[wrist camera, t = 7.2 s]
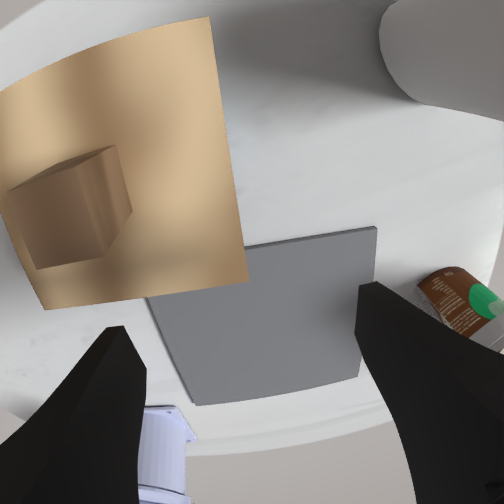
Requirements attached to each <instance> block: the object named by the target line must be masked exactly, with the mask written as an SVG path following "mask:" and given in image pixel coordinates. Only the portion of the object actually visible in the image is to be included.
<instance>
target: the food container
mask: <svg viewBox="0 0 504 504" xmlns="http://www.w3.org/2000/svg"><path fill="white" fill-rule="evenodd" d="M417 287H418V288H419V290H420V291H421V293H422V294H423V296H424V297H425V299H426V301H427V302H428V304H429V305H430V307H431V309H432V310H433V312H434V313H435V315H436V317H437V318H438V320H439V322H441V323H442V324H444V325H446V326H448V327H449V328H451V329H453V330H455V331H456V332H458V333H460V334H461V335H463V336H465V337H467V338H469V339H471V340H473V341H475V342H477V343H479V344H481V345H483V346H485V347H487V348H489V349H492V350H494V351H496V352H499V353H501V354H503V355H504V301H503V300H501V299H500V298H499V297H498V296H497V295H495V294H494V293H493V292H492V291H490V290H489V289H488V288H487V287H486V286H484V285H483V284H482V283H481V282H479V281H478V280H477V279H476V278H474V277H473V276H472V275H471V274H469V273H468V272H467V271H465V270H464V269H462V268H460V267H447V268H443V269H441V270H438V271H436V272H435V273H433V274H431V275H429V276H428V277H427V278H425V279H424V280H423V281H421V282H420V283H419V284H418V285H417Z"/></svg>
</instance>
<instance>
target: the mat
mask: <svg viewBox="0 0 504 504" xmlns="http://www.w3.org/2000/svg"><path fill="white" fill-rule="evenodd" d="M376 242H377V228H376V227H375V226H373V227H367V228H360V229H354V230H348V231H341V232H335V233H329V234H323V235H316V236H310V237H304V238H298V239H292V240H285V241H279V242H273V243H267V244H261V245H255V246H249V247H244V249H245V255H246V262H247V268H248V274H249V280H250V281H249V282H242V283H236V284H230V285H224V286H218V287H211V288H205V289H199V290H192V291H186V292H179V293H172V294H165V295H159V296H152V297H147V298H148V300H149V303H150V306H151V308H152V311H153V313H154V316H155V318H156V320H157V323H158V325H159V328H160V330H161V332H162V335H163V337H164V339H165V342H166V344H167V346H168V349H169V351H170V353H171V355H172V357H173V360H174V362H175V364H176V366H177V368H178V370H179V373H180V375H181V377H182V379H183V381H184V383H185V385H186V387H187V389H188V391H189V393H190V395H191V397H192V399H193V401H194V403H195V405H196V406H202V405H212V404H221V403H229V402H237V401H244V400H251V399H258V398H264V397H270V396H275V395H281V394H286V393H291V392H296V391H301V390H306V389H310V388H315V387H319V386H323V385H328V384H332V383H336V382H340V381H344V380H347V379H351V378H355V377H358V372H359V367H360V362H361V357H362V354H361V351H360V349H359V346H358V343H357V340H356V337H355V335H354V331H355V322H356V312H357V301H358V289H359V285H363V284H367V283H371V282H373V275H374V266H375V255H376Z"/></svg>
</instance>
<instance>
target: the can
mask: <svg viewBox="0 0 504 504" xmlns="http://www.w3.org/2000/svg"><path fill="white" fill-rule="evenodd" d="M379 41H380V51H381V53H382V56H383V59H384V62H385V65H386V67H387V70H388V71H389V73H390V74H391V76H392V77H393V79H394V80H395V82H396V84H397V85H398V86H399V87H400V88H401V89H402V90H403V91H404V92H405V93H406V94H407V95H408V96H409V97H411V98H413V99H414V100H416V101H418V102H420V103H422V104H424V105H430V106H436V107H441V108H447V109H452V110H457V111H462V112H467V113H472V114H476V115H480V116H484V117H488V118H492V119H496V120H500V121H503V122H504V0H399V1H397V2H395V3H393V4H392V5H390V6H389V7H388V9H387V10H386V12H385V13H384V14H383V16H382V19H381V23H380V28H379Z"/></svg>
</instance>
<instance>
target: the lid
mask: <svg viewBox="0 0 504 504" xmlns="http://www.w3.org/2000/svg"><path fill="white" fill-rule="evenodd" d="M0 211H1V214H2V217H3V220H4V222H5V225H6V228H7V230H8V233H9V235H10V238H11V240H12V243H13V245H14V248H15V250H16V252H17V255H18V257H19V259H20V262H21V264H22V266H23V268H24V270H25V272H26V275H27V277H28V279H29V281H30V283H31V285H32V287H33V289H34V291H35V293H36V295H37V297H38V298H39V300H40V302H41V304H42V306H43V308H44V310H51V309H60V308H68V307H77V306H85V305H92V304H100V303H108V302H115V301H123V300H130V299H137V298H145V297H152V296H159V295H165V294H172V293H179V292H186V291H192V290H199V289H205V288H211V287H218V286H224V285H230V284H236V283H242V282H249V281H250V280H249V274H248V268H247V262H246V255H245V249H244V243H243V236H242V230H241V224H240V217H239V211H238V205H237V198H236V192H235V185H234V179H233V172H232V166H231V159H230V153H229V146H228V140H227V133H226V127H225V120H224V113H223V107H222V100H221V93H220V87H219V80H218V73H217V66H216V59H215V53H214V46H213V39H212V32H211V25H210V18H209V17H203V18H197V19H192V20H186V21H181V22H176V23H172V24H167V25H163V26H159V27H155V28H151V29H147V30H143V31H139V32H136V33H132V34H129V35H126V36H123V37H119V38H116V39H113V40H110V41H107V42H104V43H102V44H99V45H96V46H93V47H91V48H88V49H86V50H83V51H80V52H78V53H76V54H73V55H71V56H68V57H66V58H64V59H62V60H59V61H57V62H55V63H53V64H51V65H49V66H47V67H44V68H42V69H40V70H38V71H36V72H35V73H33V74H31V75H29V76H27V77H25V78H23V79H21V80H20V81H18V82H16V83H14V84H13V85H11V86H9V87H7V88H6V89H4V90H2V91H1V92H0Z"/></svg>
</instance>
